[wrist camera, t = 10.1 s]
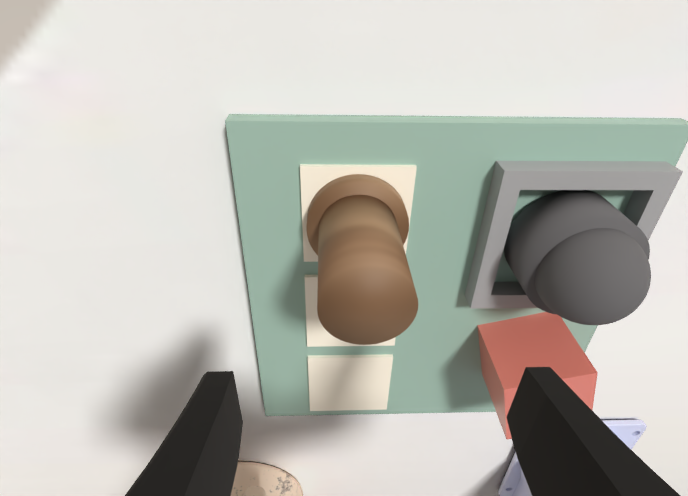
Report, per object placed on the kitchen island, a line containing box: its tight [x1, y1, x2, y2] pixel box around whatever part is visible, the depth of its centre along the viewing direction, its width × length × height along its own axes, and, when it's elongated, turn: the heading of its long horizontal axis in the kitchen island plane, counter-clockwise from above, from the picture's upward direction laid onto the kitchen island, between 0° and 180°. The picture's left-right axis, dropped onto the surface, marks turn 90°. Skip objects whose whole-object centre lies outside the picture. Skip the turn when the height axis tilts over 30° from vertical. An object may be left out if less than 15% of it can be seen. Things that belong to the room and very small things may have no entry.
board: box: [225, 114, 688, 416], centre depth 21 cm, size 18×18×2 cm
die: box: [477, 312, 597, 439], centre depth 21 cm, size 4×4×4 cm
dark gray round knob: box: [504, 190, 651, 325], centre depth 17 cm, size 5×5×5 cm
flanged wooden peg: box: [306, 174, 418, 345], centre depth 16 cm, size 4×4×6 cm
